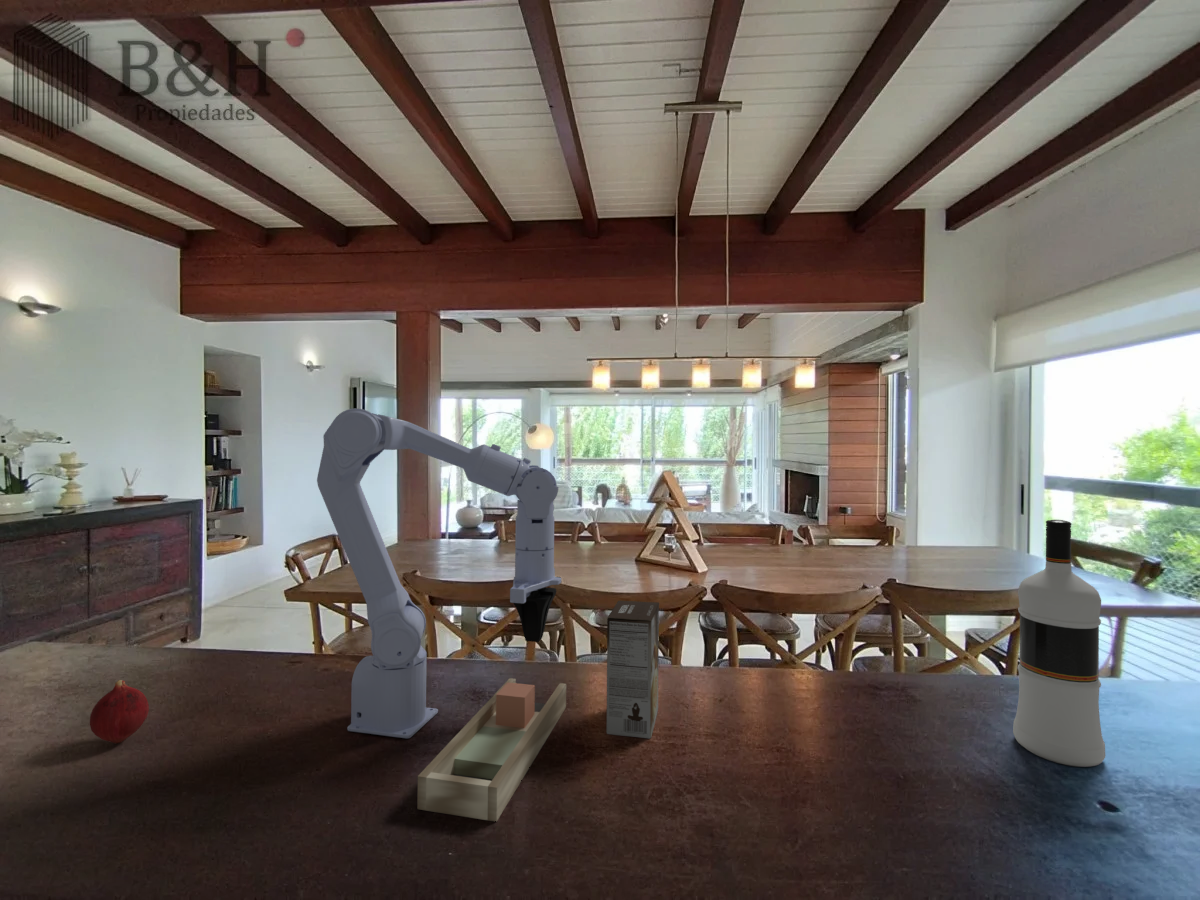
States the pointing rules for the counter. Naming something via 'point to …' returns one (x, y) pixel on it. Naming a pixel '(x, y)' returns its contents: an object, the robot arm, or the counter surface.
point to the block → (515, 705)
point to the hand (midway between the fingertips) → (533, 639)
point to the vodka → (1059, 660)
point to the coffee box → (632, 668)
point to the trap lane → (486, 761)
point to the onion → (119, 713)
